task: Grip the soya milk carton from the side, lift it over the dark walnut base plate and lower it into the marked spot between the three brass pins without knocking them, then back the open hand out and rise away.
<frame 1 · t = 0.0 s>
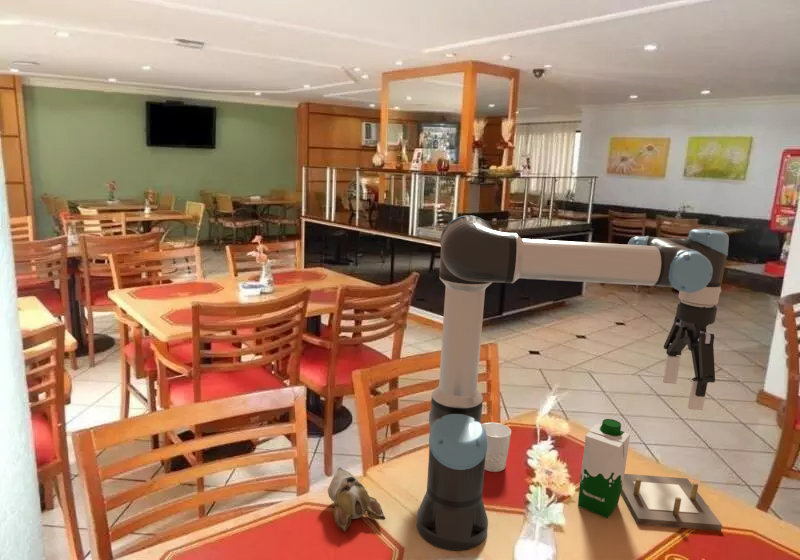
hand: (681, 395, 127), 28 cm above the table, fingers open, 13 cm apart
pin base plate: (663, 502, 135), on the table
soya milk: (597, 506, 133), on the table
white cup: (492, 465, 147), on the table
ceramic sculpture: (351, 514, 126), on the table
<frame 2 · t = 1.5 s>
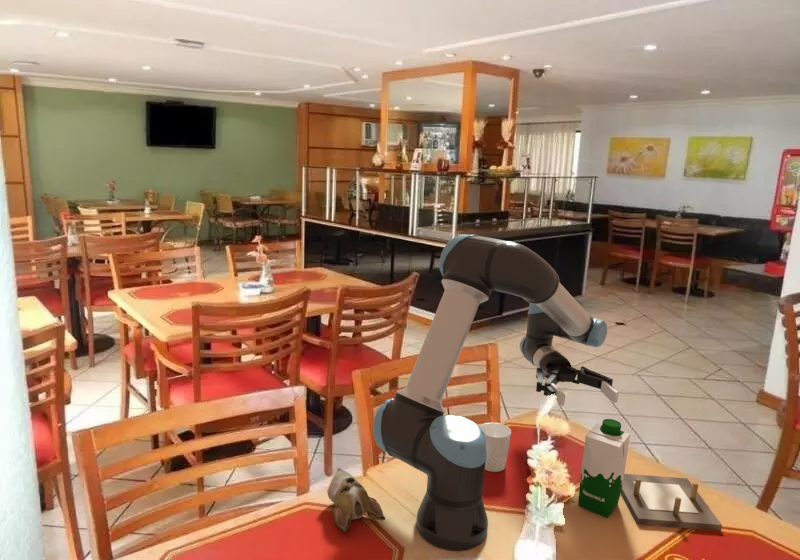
hand: (590, 399, 136), 22 cm above the table, fingers open, 13 cm apart
nothing on the table moved.
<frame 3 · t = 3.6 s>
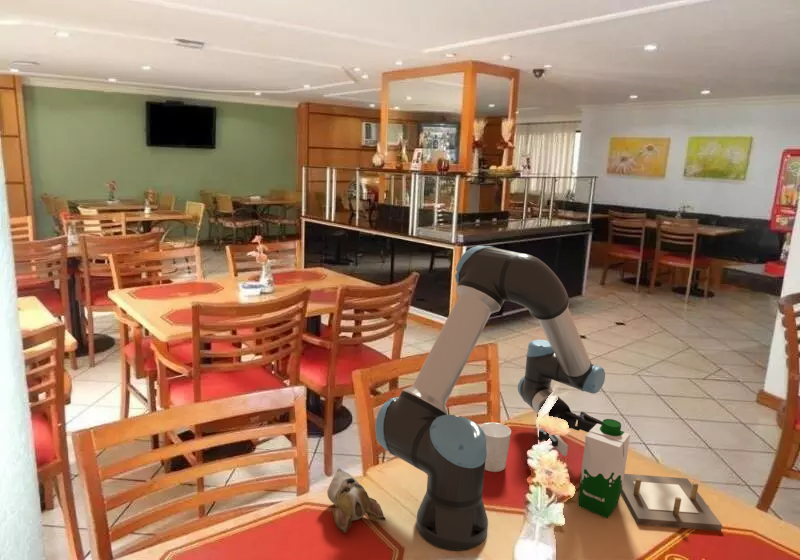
hand: (592, 449, 136), 11 cm above the table, fingers open, 13 cm apart
nothing on the table moved.
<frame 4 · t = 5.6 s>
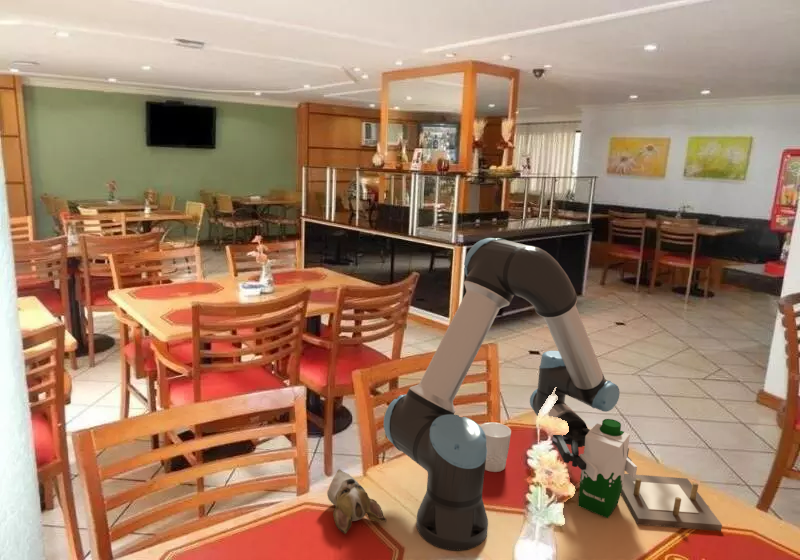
hand: (615, 473, 126), 11 cm above the table, fingers closed on soya milk, 9 cm apart
soya milk: (597, 505, 133), on the table, touching gripper
everything else where it was.
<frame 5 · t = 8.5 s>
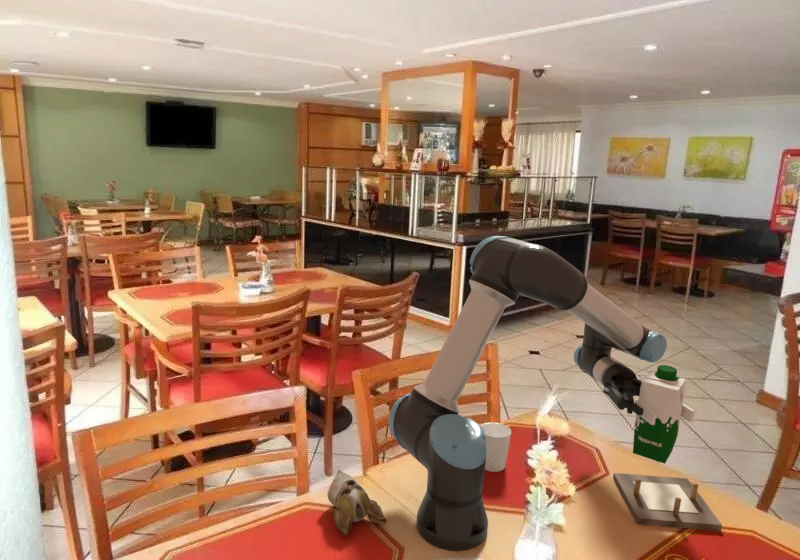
hand: (673, 417, 125), 24 cm above the table, fingers closed on soya milk, 9 cm apart
soya milk: (652, 453, 132), point 13 cm above the table, touching gripper
when the fingers open (14 cm above the table, at t = 11.0 s): soya milk drops 1 cm, resting on pin base plate.
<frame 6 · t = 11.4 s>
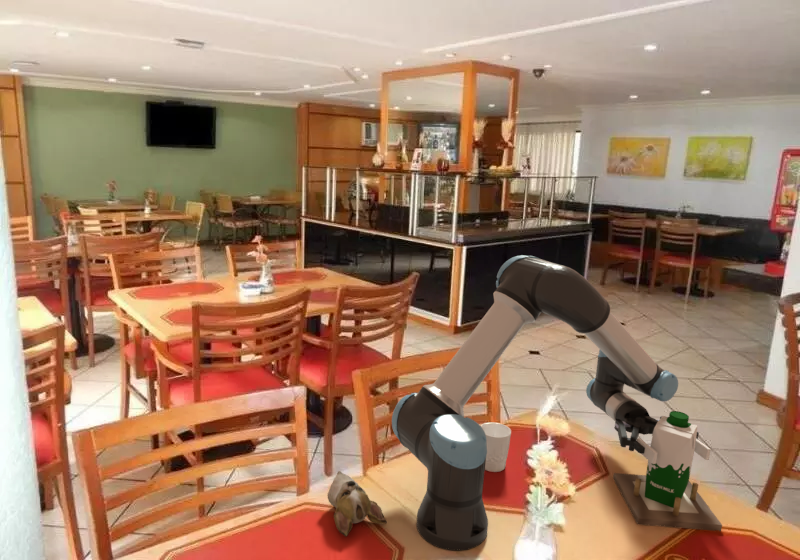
hand: (682, 456, 128), 14 cm above the table, fingers open, 13 cm apart
soya milk: (663, 497, 134), point 2 cm above the table, touching pin base plate
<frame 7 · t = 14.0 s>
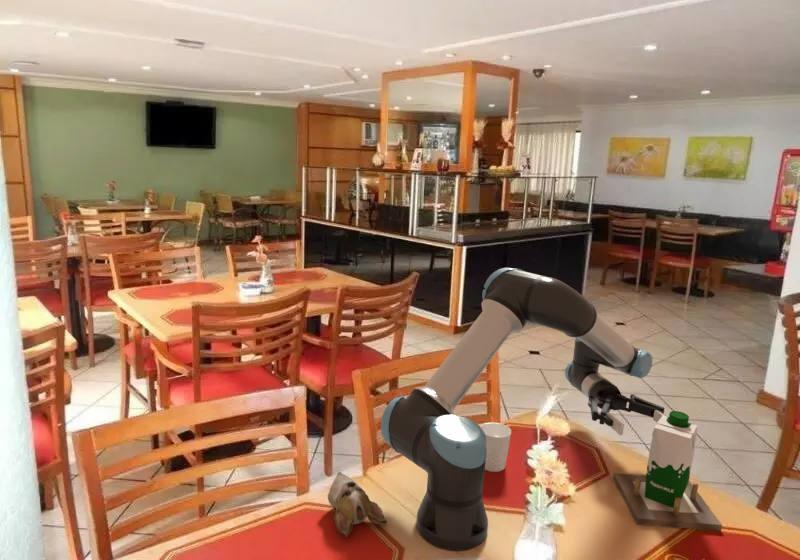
hand: (647, 428, 141), 14 cm above the table, fingers open, 13 cm apart
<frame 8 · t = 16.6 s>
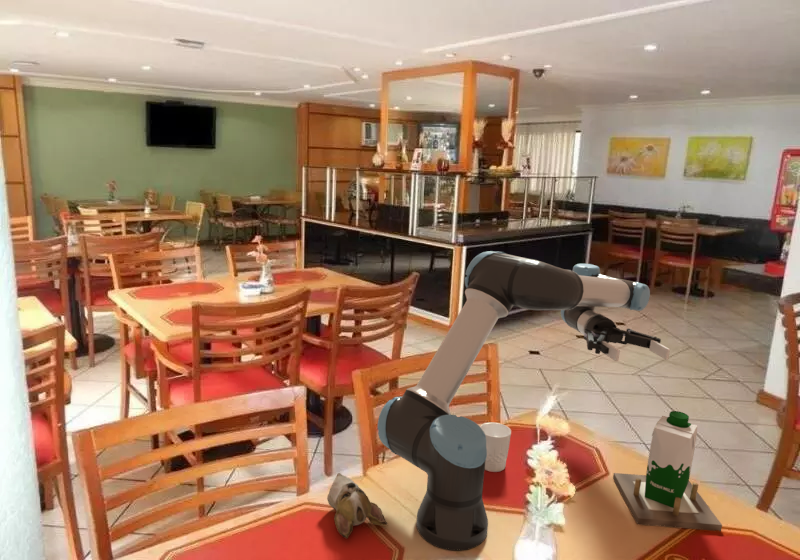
hand: (643, 355, 139), 32 cm above the table, fingers open, 13 cm apart
at the end: soya milk 0.2 cm off-centre on the pin base plate, point 1.5 cm above the pin base plate's base; soya milk tilted 0°; the gripper is holding nothing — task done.
